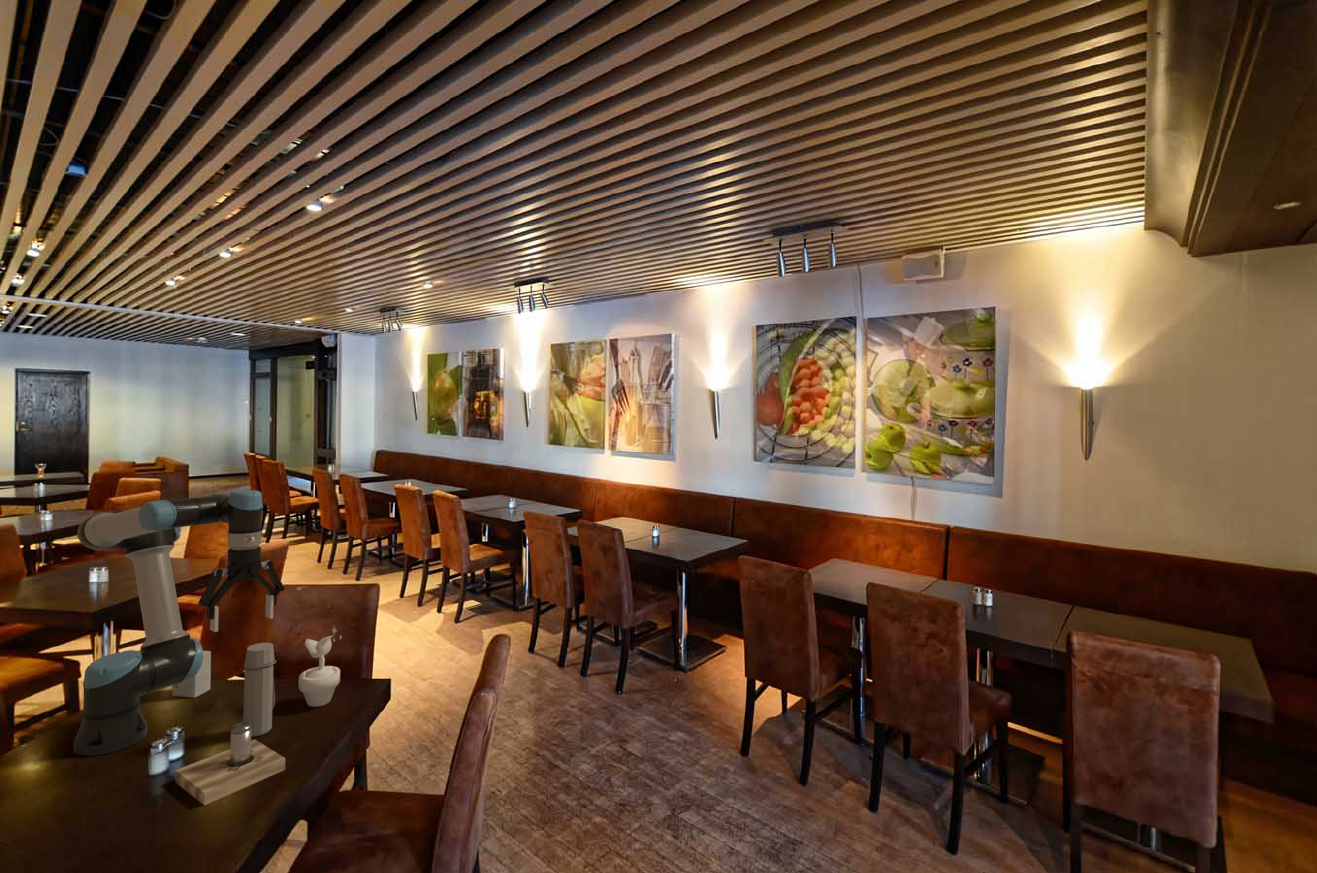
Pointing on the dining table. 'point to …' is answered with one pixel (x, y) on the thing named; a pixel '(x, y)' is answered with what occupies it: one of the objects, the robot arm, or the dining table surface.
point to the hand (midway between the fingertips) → (242, 624)
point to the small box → (196, 680)
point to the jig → (228, 773)
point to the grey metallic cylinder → (240, 744)
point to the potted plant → (319, 674)
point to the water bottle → (259, 688)
